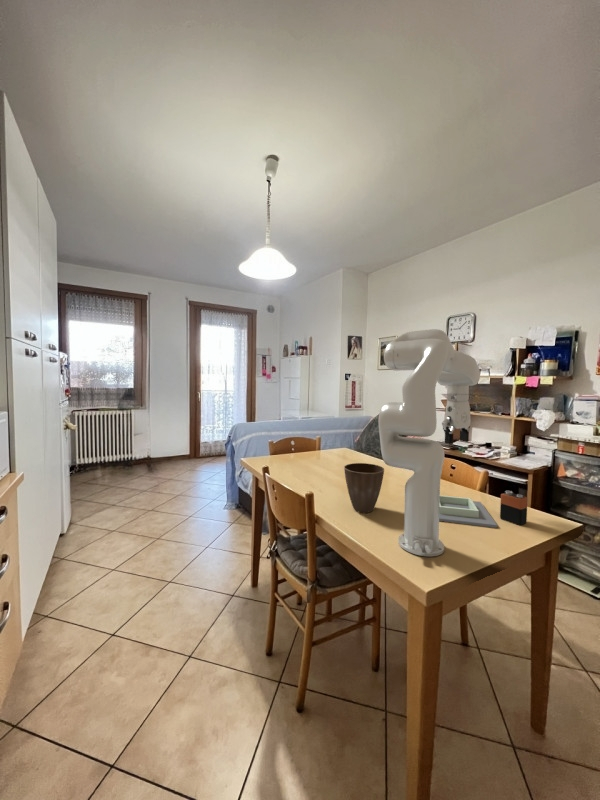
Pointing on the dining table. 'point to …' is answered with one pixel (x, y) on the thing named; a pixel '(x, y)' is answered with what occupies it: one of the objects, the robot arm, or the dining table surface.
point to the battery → (513, 508)
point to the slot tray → (464, 512)
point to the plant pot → (363, 485)
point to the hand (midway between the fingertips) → (456, 442)
